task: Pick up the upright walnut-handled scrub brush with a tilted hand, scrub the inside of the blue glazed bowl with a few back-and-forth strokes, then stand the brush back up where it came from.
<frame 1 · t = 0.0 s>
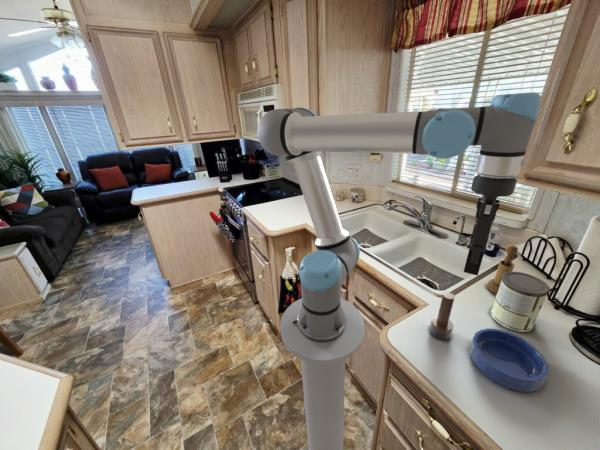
hand: (472, 259, 62), 26 cm above the worktop, tool pointing down, fingers open, 13 cm apart
bowl: (503, 364, 63), on the worktop
brush: (439, 332, 73), on the worktop
coffee can: (510, 319, 76), on the worktop
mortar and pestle: (498, 290, 88), on the worktop
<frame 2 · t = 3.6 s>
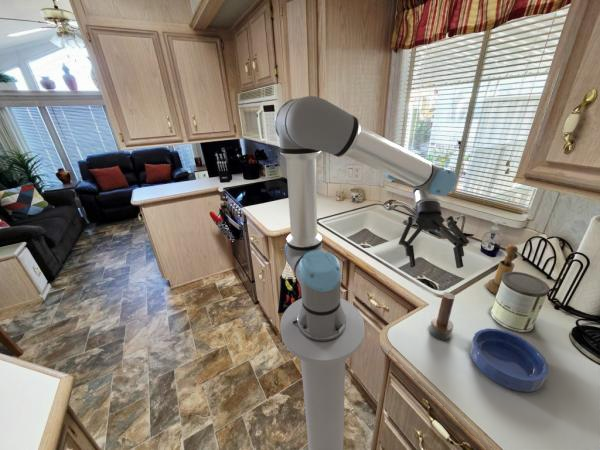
hand: (436, 267, 76), 16 cm above the worktop, tool tilted 45°, fingers open, 13 cm apart
nothing on the worktop moved.
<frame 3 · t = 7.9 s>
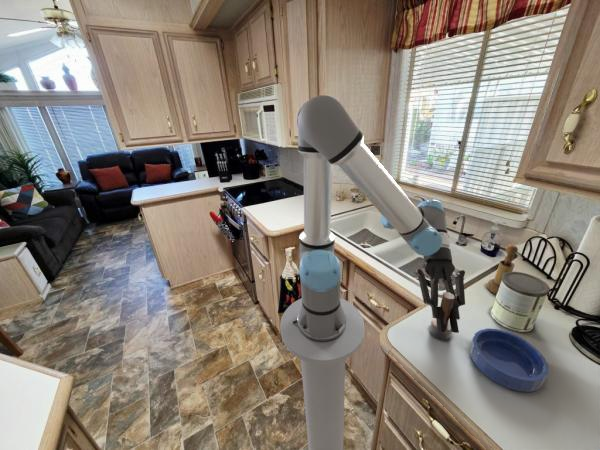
hand: (448, 331, 68), 5 cm above the worktop, tool tilted 45°, fingers closed on brush, 3 cm apart
brush: (439, 332, 73), on the worktop, touching gripper
everything else where it was.
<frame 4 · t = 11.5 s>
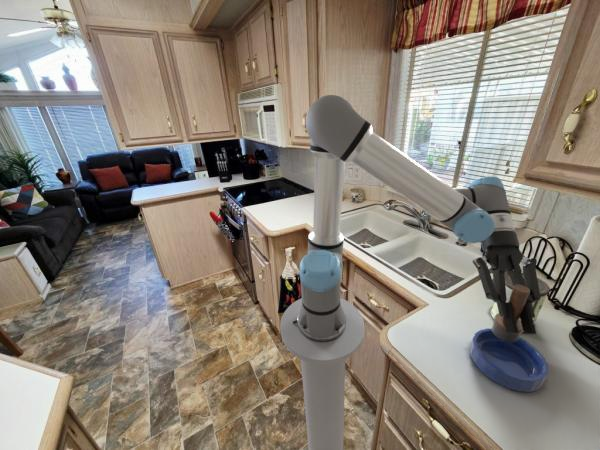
hand: (521, 332, 55), 14 cm above the worktop, tool tilted 45°, fingers closed on brush, 3 cm apart
brush: (504, 333, 61), point 9 cm above the worktop, touching gripper
everything else where it was.
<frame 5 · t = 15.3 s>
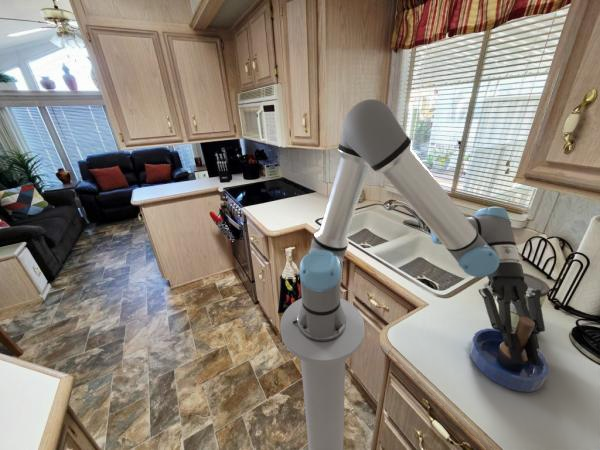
hand: (526, 363, 57), 6 cm above the worktop, tool tilted 45°, fingers closed on brush, 3 cm apart
brush: (509, 361, 63), point 1 cm above the worktop, touching gripper
everything else where it was.
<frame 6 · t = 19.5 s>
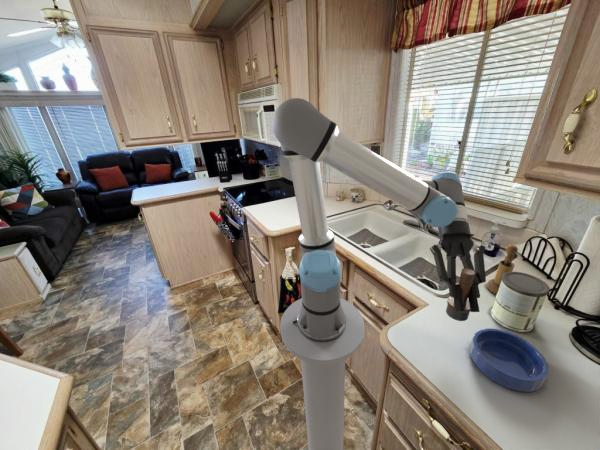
hand: (467, 311, 62), 14 cm above the worktop, tool tilted 45°, fingers closed on brush, 3 cm apart
brush: (456, 313, 67), point 9 cm above the worktop, touching gripper
everything else where it was.
when the fingers open (5 cm above the worktop, at t = 22.6 s): brush stays where it is, on the worktop.
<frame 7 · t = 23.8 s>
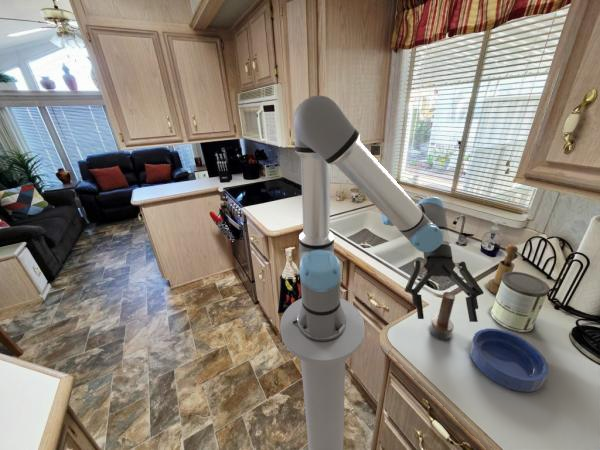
hand: (446, 320, 68), 7 cm above the worktop, tool tilted 45°, fingers open, 13 cm apart
brush: (440, 332, 73), on the worktop
everything else where it was.
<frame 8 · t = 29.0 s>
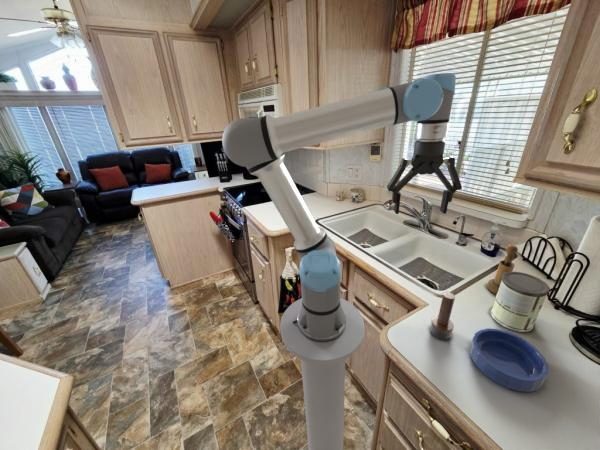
hand: (419, 212, 76), 32 cm above the worktop, tool pointing down, fingers open, 13 cm apart
nothing on the worktop moved.
at the end: brush tilted 0°; brush inside the target area (0.1 cm from its centre), on the worktop; bowl moved 0.0 cm from its start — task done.
